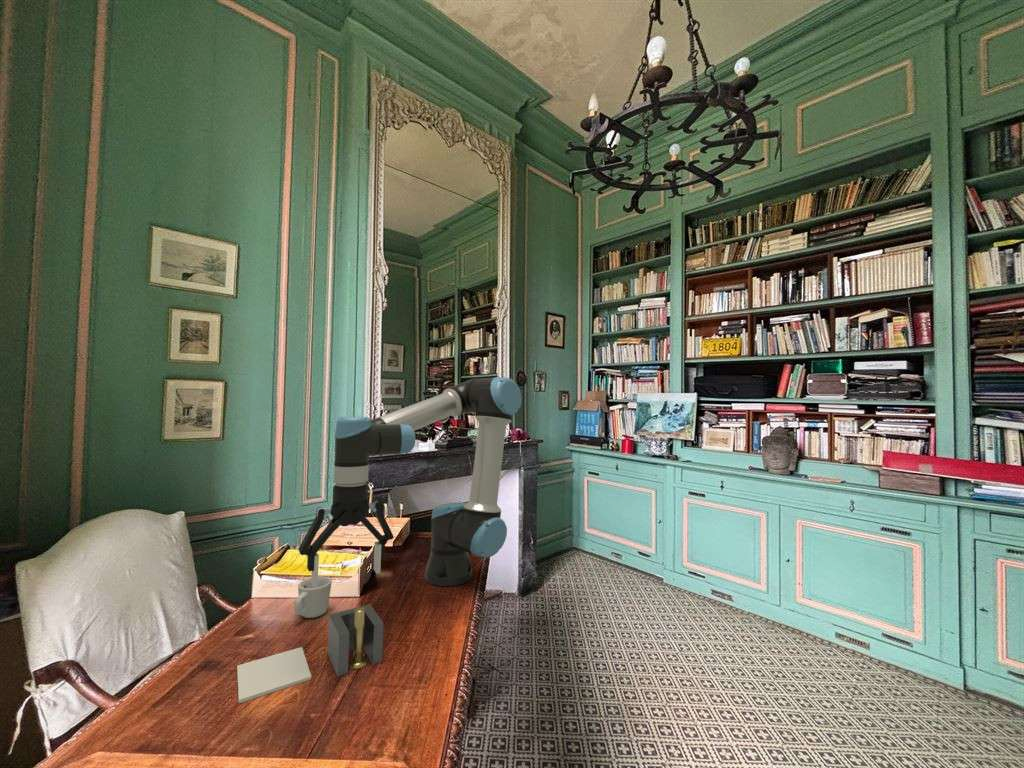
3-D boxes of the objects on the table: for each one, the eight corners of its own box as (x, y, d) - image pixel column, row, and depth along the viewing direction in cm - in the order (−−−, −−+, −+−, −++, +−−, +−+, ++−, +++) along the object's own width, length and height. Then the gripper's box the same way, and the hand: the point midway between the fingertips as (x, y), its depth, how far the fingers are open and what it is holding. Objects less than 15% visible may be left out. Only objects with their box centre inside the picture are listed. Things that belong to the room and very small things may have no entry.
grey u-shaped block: (368, 639, 95) (369, 604, 96) (382, 661, 87) (383, 622, 88) (327, 652, 90) (328, 614, 91) (337, 676, 82) (339, 635, 83)
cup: (309, 629, 99) (310, 595, 100) (281, 625, 101) (282, 591, 102) (336, 608, 110) (338, 577, 111) (310, 604, 112) (312, 574, 112)
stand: (364, 656, 89) (366, 604, 90) (369, 665, 86) (370, 611, 87) (346, 662, 87) (349, 608, 87) (351, 671, 84) (353, 616, 85)
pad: (301, 649, 91) (302, 646, 91) (311, 679, 81) (311, 676, 81) (237, 668, 84) (237, 665, 84) (238, 703, 74) (238, 700, 74)
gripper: (397, 476, 105) (394, 561, 103) (287, 486, 90) (282, 584, 89) (408, 481, 99) (405, 571, 97) (292, 492, 84) (287, 598, 83)
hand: (346, 578), depth 93 cm, fingers open, 13 cm apart
